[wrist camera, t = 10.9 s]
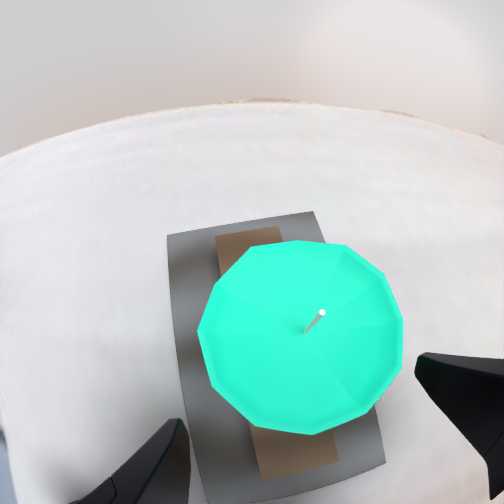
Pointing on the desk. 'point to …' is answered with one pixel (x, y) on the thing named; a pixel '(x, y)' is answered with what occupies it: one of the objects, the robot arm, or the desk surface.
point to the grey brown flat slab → (222, 412)
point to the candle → (301, 336)
